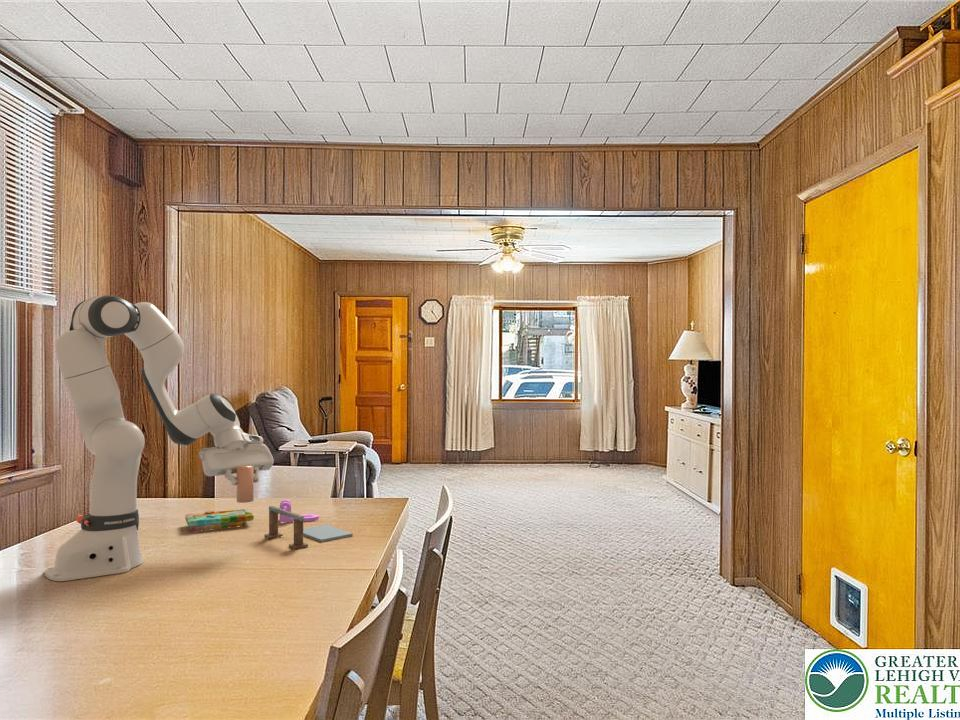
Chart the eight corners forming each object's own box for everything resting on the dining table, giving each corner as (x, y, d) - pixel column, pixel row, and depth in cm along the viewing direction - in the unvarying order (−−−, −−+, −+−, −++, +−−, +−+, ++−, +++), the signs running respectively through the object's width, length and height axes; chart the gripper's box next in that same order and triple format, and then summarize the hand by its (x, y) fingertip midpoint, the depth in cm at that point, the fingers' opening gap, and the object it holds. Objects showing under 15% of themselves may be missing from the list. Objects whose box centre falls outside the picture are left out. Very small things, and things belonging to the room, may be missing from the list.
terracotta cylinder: (240, 503, 194) (240, 468, 194) (234, 501, 197) (234, 466, 197) (256, 501, 197) (256, 466, 197) (249, 498, 201) (249, 464, 201)
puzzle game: (185, 512, 227) (248, 506, 236) (185, 526, 227) (248, 520, 236) (188, 519, 216) (253, 513, 225) (188, 534, 216) (253, 527, 225)
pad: (321, 542, 205) (321, 539, 205) (295, 532, 217) (295, 530, 217) (352, 536, 212) (352, 533, 212) (326, 527, 224) (326, 524, 224)
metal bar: (299, 521, 198) (299, 516, 198) (268, 510, 213) (268, 506, 213) (303, 520, 199) (303, 516, 199) (272, 509, 214) (272, 505, 214)
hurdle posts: (295, 549, 197) (295, 521, 197) (264, 536, 212) (264, 510, 212) (307, 546, 200) (308, 519, 200) (276, 534, 214) (276, 509, 214)
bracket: (279, 523, 230) (279, 503, 230) (279, 520, 235) (279, 499, 235) (319, 521, 233) (319, 500, 233) (318, 517, 239) (318, 497, 239)
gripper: (199, 441, 195) (213, 480, 188) (267, 436, 209) (282, 471, 202) (193, 455, 199) (206, 494, 191) (260, 449, 213) (275, 485, 205)
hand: (246, 482), depth 197 cm, fingers closed on terracotta cylinder, 5 cm apart
